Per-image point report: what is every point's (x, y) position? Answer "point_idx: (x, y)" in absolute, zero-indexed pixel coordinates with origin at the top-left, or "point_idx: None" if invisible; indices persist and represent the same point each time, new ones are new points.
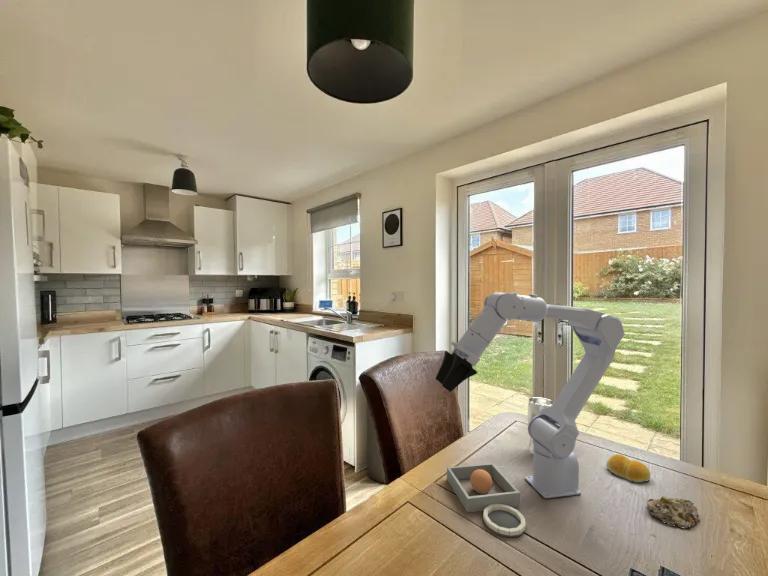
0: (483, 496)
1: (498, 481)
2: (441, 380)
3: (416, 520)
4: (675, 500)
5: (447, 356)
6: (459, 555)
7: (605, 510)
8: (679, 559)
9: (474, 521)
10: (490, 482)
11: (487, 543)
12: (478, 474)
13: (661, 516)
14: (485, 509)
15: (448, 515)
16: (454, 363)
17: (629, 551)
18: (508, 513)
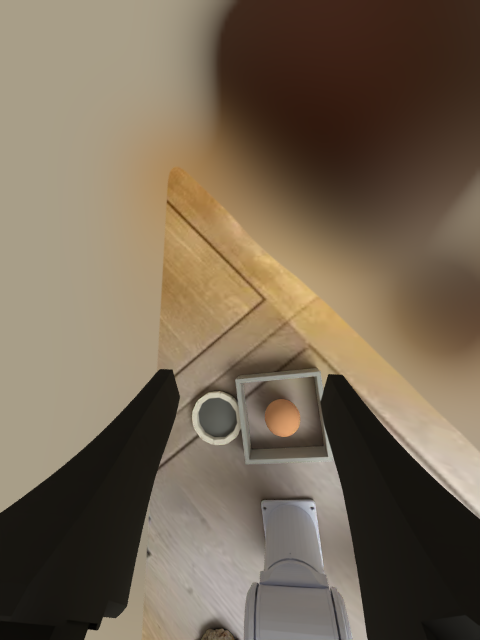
0: (239, 404)
1: (300, 449)
2: (326, 402)
3: (227, 306)
4: None
5: (421, 561)
6: (174, 344)
7: (235, 570)
8: (156, 583)
9: (222, 379)
10: (269, 429)
11: (188, 381)
12: (276, 415)
13: (208, 637)
14: (232, 399)
15: (234, 348)
16: (34, 497)
17: (169, 537)
18: (230, 429)
